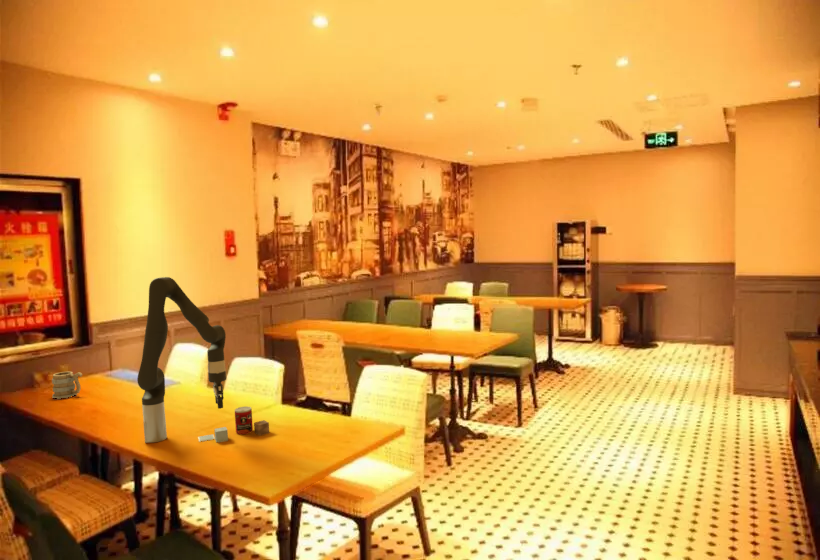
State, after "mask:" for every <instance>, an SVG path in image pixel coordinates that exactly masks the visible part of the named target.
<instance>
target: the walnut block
mask: <svg viewBox="0 0 820 560" xmlns="http://www.w3.org/2000/svg"><path fill="white" fill-rule="evenodd" d="M253 429H254V434H256V435H258V436H264V435H266V434H267V435H268V434H270V423H269V422H268V421H267V420H260V421H256V422H255V421H254V422H253Z"/></svg>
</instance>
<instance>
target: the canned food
mask: <svg viewBox="0 0 820 560" xmlns="http://www.w3.org/2000/svg"><path fill="white" fill-rule="evenodd" d="M234 421H235V432H236V434H237V435H248V434H250V433H252V432H253V429H254V423H253V411H252V407H251V406H240V407H237V408H235V409H234Z"/></svg>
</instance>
